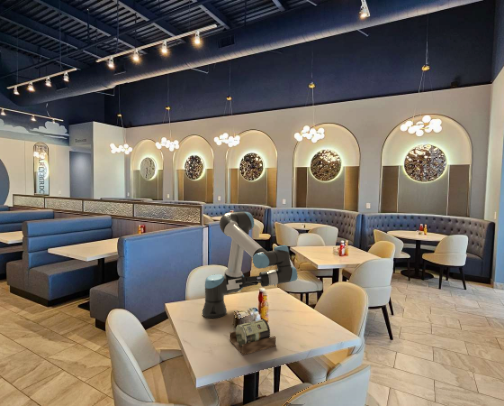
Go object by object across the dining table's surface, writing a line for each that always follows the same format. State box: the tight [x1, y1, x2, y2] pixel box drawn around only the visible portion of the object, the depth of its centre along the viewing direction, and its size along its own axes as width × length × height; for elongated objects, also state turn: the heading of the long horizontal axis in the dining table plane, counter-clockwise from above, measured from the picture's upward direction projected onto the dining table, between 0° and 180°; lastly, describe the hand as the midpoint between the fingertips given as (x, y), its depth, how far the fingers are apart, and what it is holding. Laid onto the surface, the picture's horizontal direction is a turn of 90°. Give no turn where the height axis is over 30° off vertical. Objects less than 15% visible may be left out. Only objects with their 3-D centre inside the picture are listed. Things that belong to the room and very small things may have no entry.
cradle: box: [229, 330, 277, 356], centre depth 149 cm, size 18×15×4 cm
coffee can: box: [235, 318, 271, 347], centre depth 147 cm, size 10×10×14 cm
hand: (227, 285), depth 150 cm, fingers open, 13 cm apart
